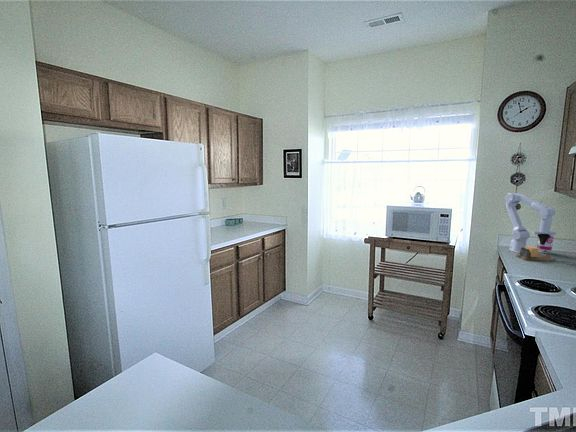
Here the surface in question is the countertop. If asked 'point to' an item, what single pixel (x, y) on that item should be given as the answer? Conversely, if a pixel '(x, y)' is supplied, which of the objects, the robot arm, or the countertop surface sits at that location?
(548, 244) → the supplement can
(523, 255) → the rail stand
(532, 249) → the sleeve
